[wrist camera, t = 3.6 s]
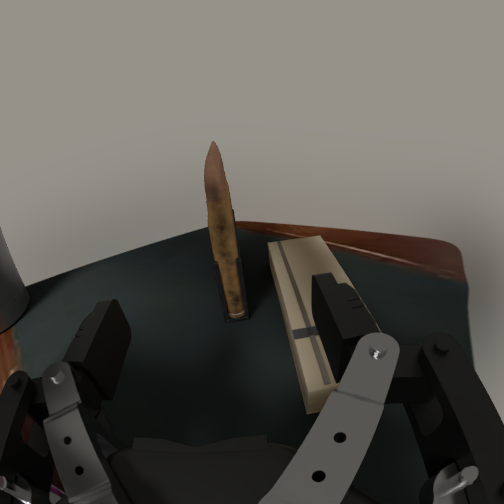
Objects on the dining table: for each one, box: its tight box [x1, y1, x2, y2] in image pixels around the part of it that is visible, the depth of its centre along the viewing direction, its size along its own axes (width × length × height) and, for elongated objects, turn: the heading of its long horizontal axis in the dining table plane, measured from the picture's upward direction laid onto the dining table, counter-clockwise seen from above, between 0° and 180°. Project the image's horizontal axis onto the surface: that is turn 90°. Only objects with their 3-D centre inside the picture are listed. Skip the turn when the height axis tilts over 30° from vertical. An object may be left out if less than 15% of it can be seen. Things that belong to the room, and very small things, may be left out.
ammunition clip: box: [204, 141, 250, 322], centre depth 23 cm, size 11×2×12 cm, turn 6°
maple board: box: [268, 236, 382, 414], centre depth 20 cm, size 5×16×2 cm, turn 4°
